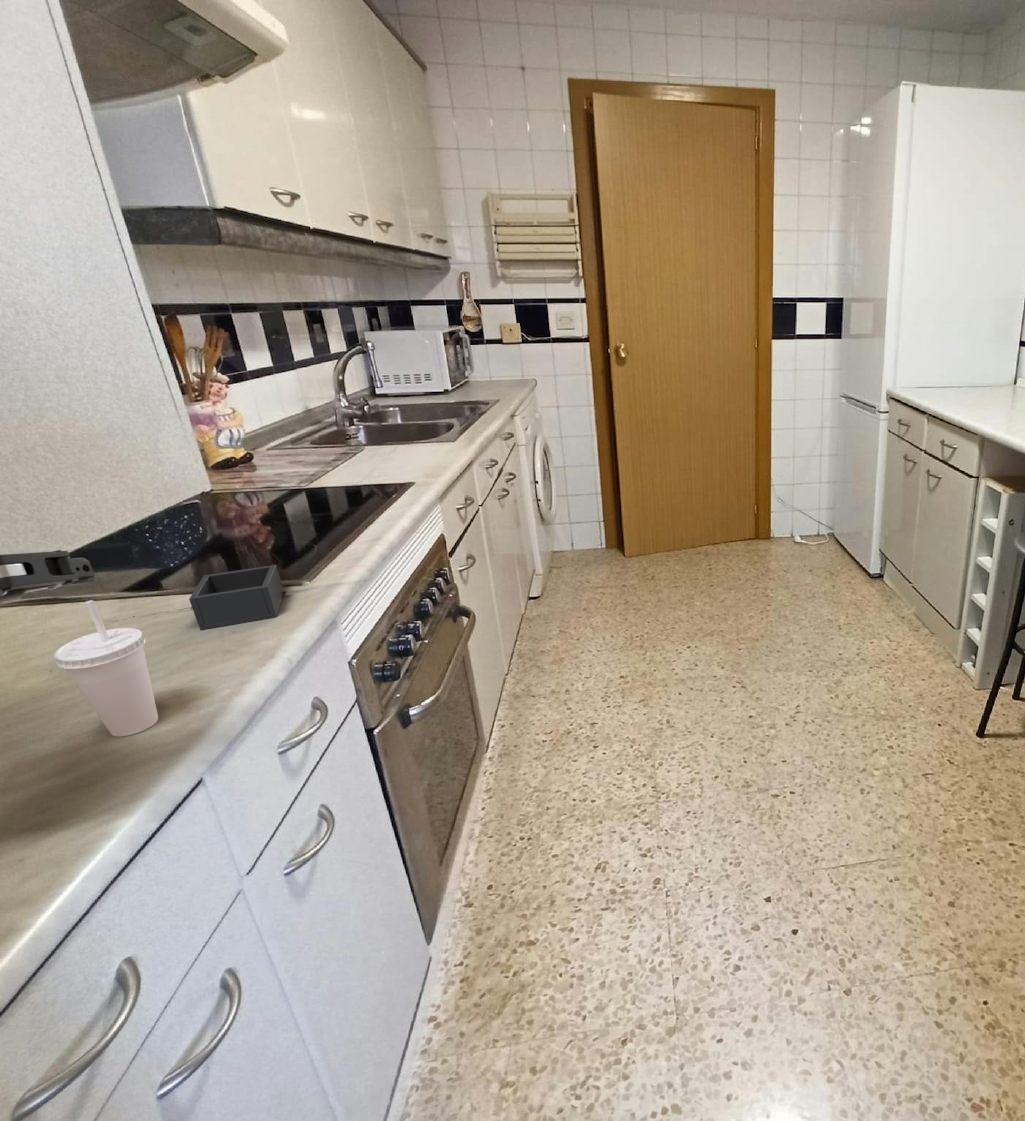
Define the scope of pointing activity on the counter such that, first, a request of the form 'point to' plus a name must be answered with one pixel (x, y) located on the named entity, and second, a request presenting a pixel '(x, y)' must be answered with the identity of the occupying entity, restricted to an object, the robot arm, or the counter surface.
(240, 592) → the open box
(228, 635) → the counter surface
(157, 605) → the counter surface
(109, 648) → the smoothie
